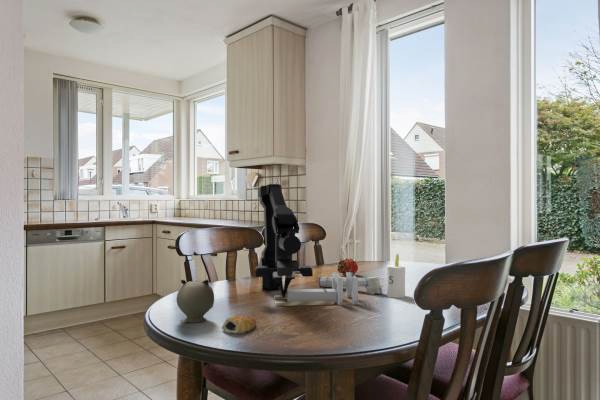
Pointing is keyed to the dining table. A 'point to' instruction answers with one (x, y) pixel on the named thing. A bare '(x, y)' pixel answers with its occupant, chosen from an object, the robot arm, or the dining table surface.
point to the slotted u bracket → (350, 287)
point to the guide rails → (300, 302)
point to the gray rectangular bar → (311, 295)
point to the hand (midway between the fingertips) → (283, 297)
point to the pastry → (238, 324)
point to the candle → (396, 280)
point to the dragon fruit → (347, 266)
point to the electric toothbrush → (369, 283)
